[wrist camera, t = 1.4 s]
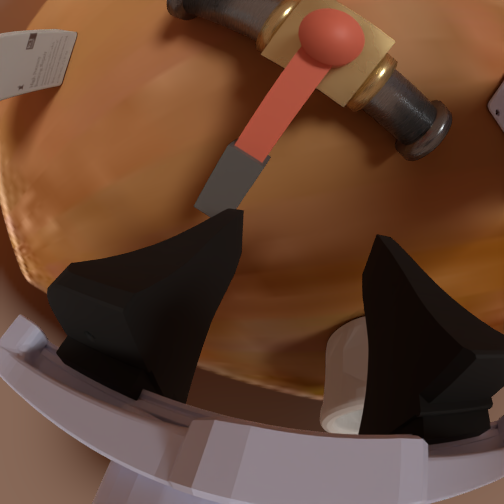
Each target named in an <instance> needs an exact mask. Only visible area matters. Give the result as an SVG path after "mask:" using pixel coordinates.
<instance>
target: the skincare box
mask: <svg viewBox="0 0 504 504" xmlns="http://www.w3.org/2000/svg"><path fill="white" fill-rule="evenodd" d="M76 37H77V32H71V31H65V30H58V29H44V30H27V31H17V32H9V33H2V34H0V101H1V100H4V99H7V98H11V97H14V96H18V95H21V94H25V93H29V92H33V91H37V90H42V89H46V88H51V87H57V86H60V85H61V84H62V81H63V78H64V74H65V71H66V68H67V65H68V62H69V58H70V55H71V52H72V49H73V46H74V43H75V40H76Z"/></svg>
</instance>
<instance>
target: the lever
mask: <svg viewBox="0 0 504 504" xmlns="http://www.w3.org/2000/svg"><path fill="white" fill-rule="evenodd" d="M298 34H299V40H300V43H301V47H300V49H299V50H298V51H297V53H296V54H295V55H294V57H293V58H292V59H291V61H290V62H289V63H288V65H287V66H286V68H285V69H284V70H283V72H282V73H281V75H280V76H279V78H278V79H277V80H276V82H275V83H274V85H273V86H272V88H271V89H270V91H269V92H268V94H267V95H266V96H265V98H264V99H263V101H262V102H261V104H260V105H259V107H258V109H257V110H256V112H255V113H254V115H253V116H252V118H251V119H250V121H249V122H248V124H247V126H246V127H245V129H244V130H243V132H242V133H241V135H240V137H239V138H237V139H236V140H234V141H233V142H232V143H230V144H229V145H228V146H227V148H226V150H225V151H224V153H223V155H222V156H221V158H220V160H219V161H218V163H217V165H216V167H215V168H214V170H213V172H212V174H211V175H210V177H209V179H208V181H207V183H206V184H205V186H204V188H203V190H202V192H201V194H200V195H199V197H198V199H197V201H196V203H195V205H194V207H195V208H197V209H198V210H200V211H202V212H203V213H205V214H206V215H208V216H209V217H213V216H215V215H216V214H218V213H220V212H222V211H224V210H226V209H228V208H230V209H236V208H237V207H238V205H239V204H240V202H241V201H242V199H243V198H244V196H245V195H246V193H247V192H248V191H249V189H250V188H251V186H252V185H253V183H254V182H255V180H256V179H257V177H258V176H259V174H260V173H261V172H262V170H263V169H264V167H265V166H266V164H267V162H268V161H269V159H270V158H271V157H270V156H269V155H268V154H269V152H270V151H271V150H272V148H273V147H274V145H275V144H276V142H277V141H278V140H279V138H280V137H281V135H282V134H283V132H284V131H285V130H286V128H287V127H288V125H289V124H290V123H291V121H292V120H293V118H294V117H295V116H296V114H297V113H298V112H299V110H300V109H301V107H302V106H303V105H304V103H305V102H306V101H307V99H308V98H309V97H310V95H311V94H312V92H313V91H314V90H315V88H316V87H317V86H318V84H319V83H320V82H321V80H322V79H323V78H324V77H325V75H326V74H327V73H328V71H329V70H330V69H331V68H339V67H343V66H345V65H347V64H349V63H350V62H352V61H353V60H354V59H356V58H357V57H358V56H359V55H360V53H361V52H362V50H363V48H364V43H365V37H364V33H363V30H362V28H361V26H360V25H359V23H358V22H357V21H356V20H355V19H354V18H353V17H351V16H350V15H349V14H347V13H345V12H343V11H340V10H337V9H330V8H324V9H318V10H315V11H313V12H311V13H309V14H308V15H306V16H305V17H304V18H303V20H302V21H301V23H300V26H299V31H298Z"/></svg>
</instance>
